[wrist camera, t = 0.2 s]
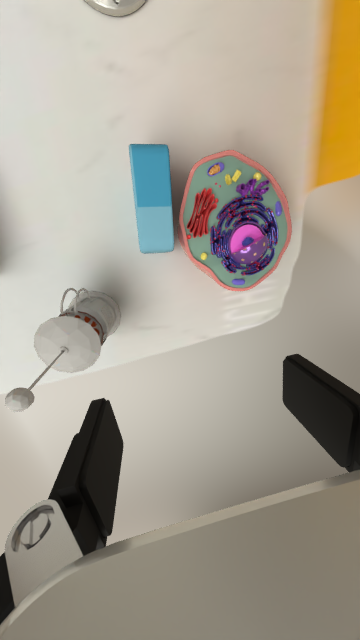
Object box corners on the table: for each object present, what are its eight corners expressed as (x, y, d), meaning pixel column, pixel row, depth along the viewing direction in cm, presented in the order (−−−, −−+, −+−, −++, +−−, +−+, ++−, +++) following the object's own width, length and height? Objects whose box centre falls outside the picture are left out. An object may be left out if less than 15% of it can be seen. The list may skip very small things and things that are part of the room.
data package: (167, 252, 38) (174, 250, 26) (142, 253, 37) (140, 252, 26) (161, 177, 34) (168, 138, 22) (134, 177, 33) (127, 137, 22)
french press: (71, 339, 40) (-42, 461, 16) (63, 280, 36) (-95, 326, 13) (121, 338, 41) (86, 448, 18) (118, 281, 38) (70, 324, 14)
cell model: (236, 151, 34) (275, 103, 24) (275, 257, 41) (319, 257, 30) (152, 203, 35) (153, 180, 24) (204, 299, 41) (223, 315, 31)
